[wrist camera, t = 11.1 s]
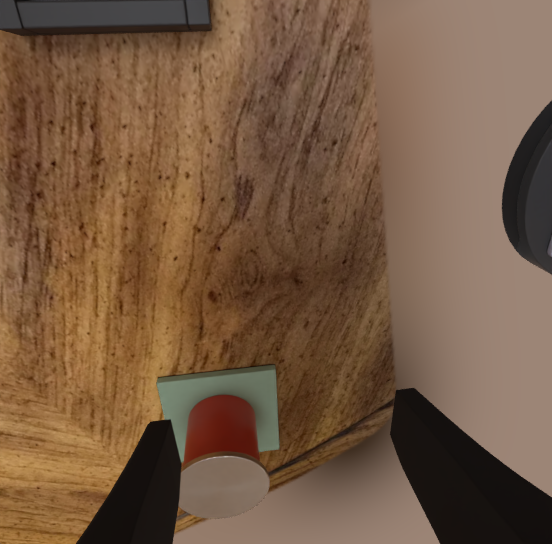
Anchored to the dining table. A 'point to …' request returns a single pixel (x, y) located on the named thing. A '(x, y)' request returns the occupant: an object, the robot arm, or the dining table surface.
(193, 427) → the red pod
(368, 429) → the dining table surface
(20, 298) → the dining table surface
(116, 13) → the pod holder
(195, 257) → the dining table surface
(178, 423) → the coaster
